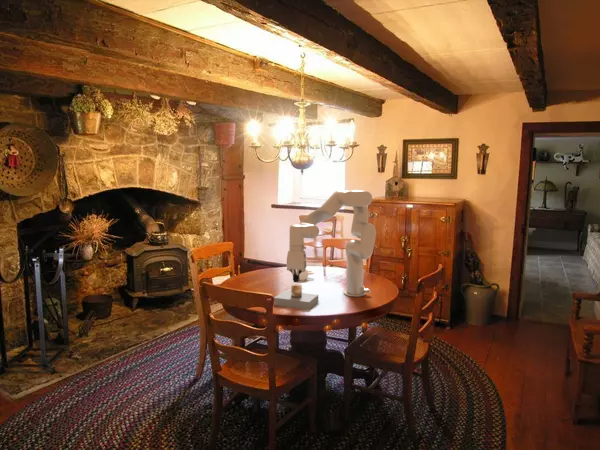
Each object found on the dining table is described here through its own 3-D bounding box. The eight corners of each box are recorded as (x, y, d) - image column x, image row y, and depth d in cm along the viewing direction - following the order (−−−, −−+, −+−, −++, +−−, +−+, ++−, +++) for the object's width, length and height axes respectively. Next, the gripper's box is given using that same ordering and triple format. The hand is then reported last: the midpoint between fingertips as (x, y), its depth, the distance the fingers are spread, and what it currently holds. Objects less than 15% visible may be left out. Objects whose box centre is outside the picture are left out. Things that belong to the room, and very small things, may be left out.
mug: (296, 280, 282) (296, 268, 281) (294, 276, 292) (294, 265, 291) (314, 280, 283) (314, 268, 282) (312, 276, 293) (312, 264, 292)
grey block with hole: (318, 302, 237) (318, 294, 236) (308, 309, 224) (309, 302, 223) (284, 297, 244) (284, 290, 244) (273, 304, 231) (273, 297, 231)
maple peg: (303, 300, 236) (303, 284, 234) (299, 303, 230) (299, 287, 229) (293, 299, 238) (293, 283, 237) (289, 302, 232) (289, 286, 231)
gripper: (312, 248, 231) (311, 281, 233) (286, 245, 236) (286, 278, 239) (307, 250, 224) (306, 285, 226) (280, 248, 229) (280, 281, 232)
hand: (296, 281), depth 232 cm, fingers closed
